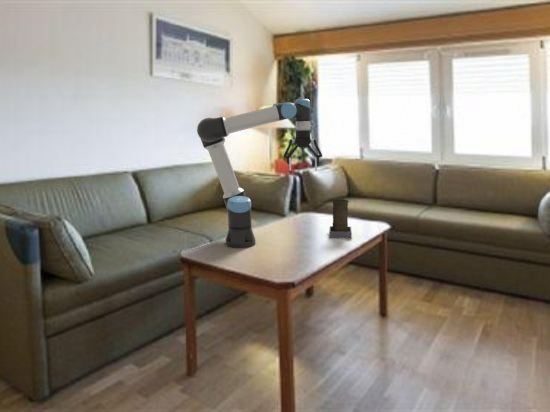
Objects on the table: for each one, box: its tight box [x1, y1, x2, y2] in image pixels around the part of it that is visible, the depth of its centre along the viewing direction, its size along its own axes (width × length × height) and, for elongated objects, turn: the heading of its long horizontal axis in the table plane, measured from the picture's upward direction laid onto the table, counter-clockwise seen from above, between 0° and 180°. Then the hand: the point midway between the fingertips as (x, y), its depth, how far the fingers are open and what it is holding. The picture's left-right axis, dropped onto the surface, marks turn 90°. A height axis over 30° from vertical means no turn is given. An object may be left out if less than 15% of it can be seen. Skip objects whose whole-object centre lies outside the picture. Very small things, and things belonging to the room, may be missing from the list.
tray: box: [328, 225, 353, 239], centre depth 247 cm, size 12×12×4 cm
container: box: [332, 198, 350, 232], centre depth 245 cm, size 9×9×18 cm
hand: (303, 170), depth 244 cm, fingers open, 13 cm apart
